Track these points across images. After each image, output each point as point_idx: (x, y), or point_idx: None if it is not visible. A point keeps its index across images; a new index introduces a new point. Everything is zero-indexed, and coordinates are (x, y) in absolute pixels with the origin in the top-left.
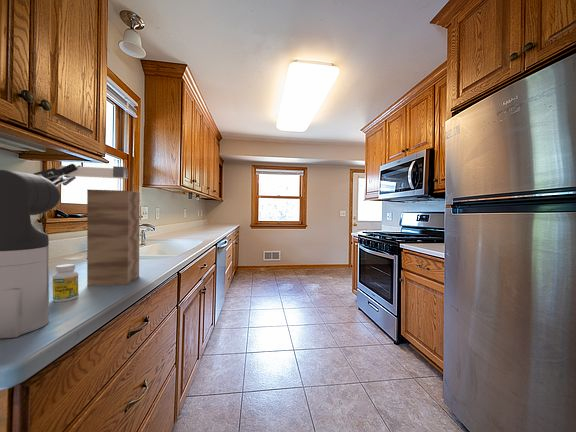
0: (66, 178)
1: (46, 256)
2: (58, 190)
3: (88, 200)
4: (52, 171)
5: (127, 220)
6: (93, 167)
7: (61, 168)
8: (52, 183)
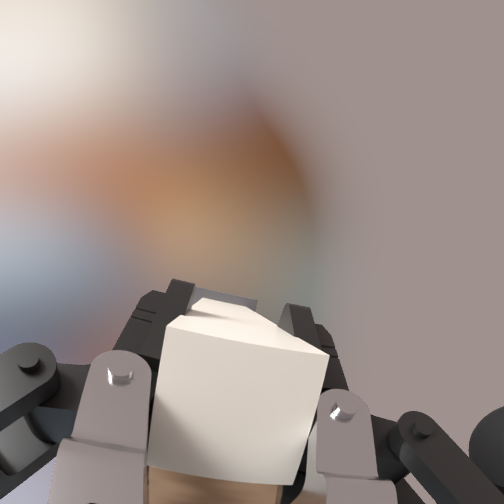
0: (148, 493)
1: None
2: (477, 425)
3: (273, 500)
4: (380, 492)
5: None
6: (257, 314)
7: (338, 395)
8: (488, 414)
